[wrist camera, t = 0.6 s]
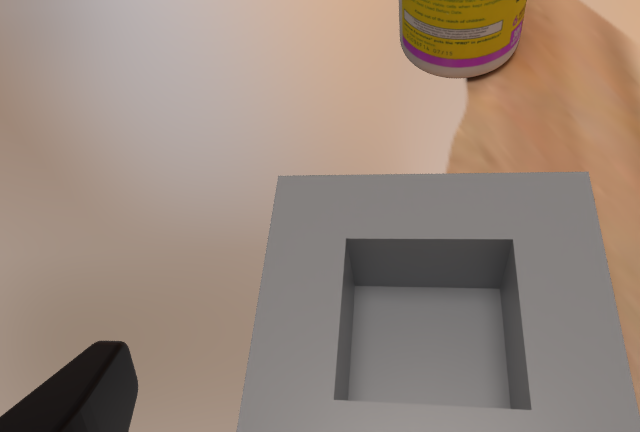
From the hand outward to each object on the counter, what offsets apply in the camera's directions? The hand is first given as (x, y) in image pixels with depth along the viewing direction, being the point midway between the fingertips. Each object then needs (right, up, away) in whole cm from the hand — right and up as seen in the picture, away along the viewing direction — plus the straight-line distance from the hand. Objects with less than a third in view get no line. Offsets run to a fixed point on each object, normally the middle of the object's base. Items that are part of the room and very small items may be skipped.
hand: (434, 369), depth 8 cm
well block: (+3, -4, +15) cm, 16 cm away
